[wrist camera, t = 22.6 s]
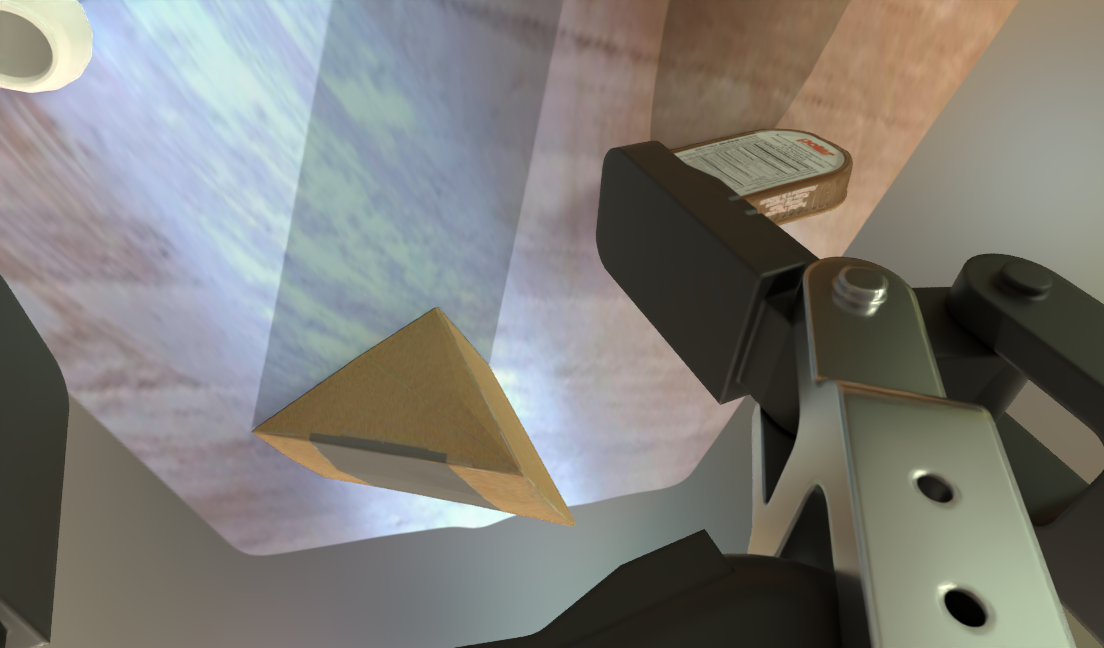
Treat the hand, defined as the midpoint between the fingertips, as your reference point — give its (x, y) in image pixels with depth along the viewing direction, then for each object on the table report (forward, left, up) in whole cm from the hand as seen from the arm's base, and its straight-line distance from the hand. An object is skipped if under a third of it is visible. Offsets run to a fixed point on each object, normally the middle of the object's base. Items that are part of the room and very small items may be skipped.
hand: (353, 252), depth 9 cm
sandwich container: (+8, +30, -26) cm, 41 cm away
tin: (-21, +25, -26) cm, 42 cm away
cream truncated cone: (+9, +1, -26) cm, 28 cm away
